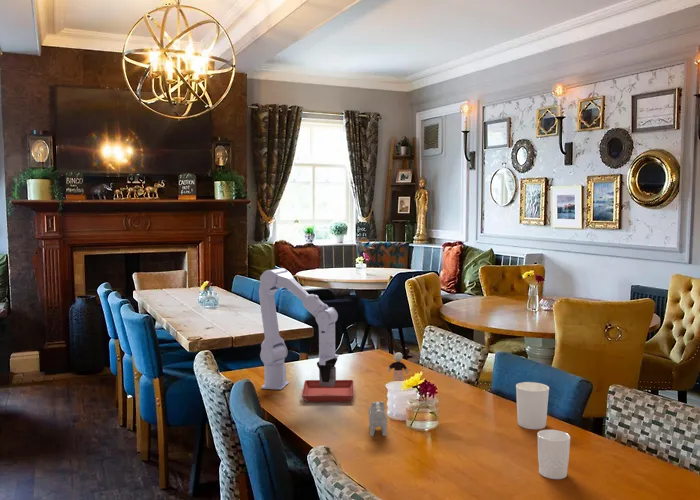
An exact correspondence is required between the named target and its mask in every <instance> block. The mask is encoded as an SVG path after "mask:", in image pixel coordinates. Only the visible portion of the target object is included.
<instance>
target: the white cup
mask: <svg viewBox="0 0 700 500" xmlns="http://www.w3.org/2000/svg"><path fill="white" fill-rule="evenodd" d="M536 434H537V435H536V436H537V458H538V459H537V462H538V473H539V474H540V475H541V476H542V477H544V478H547V479H550V480H562V479H565V478H566V477H567V476H568V475H567V474H568V467H569V460H570V447H571V446H570V445H571V436H570V435H569V433H567V432H565V431H561V430H558V429H541V430H539V431H538V432H537V433H536Z"/></svg>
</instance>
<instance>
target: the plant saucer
mask: <svg viewBox="0 0 700 500" xmlns="http://www.w3.org/2000/svg"><path fill="white" fill-rule="evenodd" d="M354 382H355V381H354V380H353V379H336V384H335V385H334V386H333V387H327V386H319V379H306V380H304V383H303V388H302V392H301V397H302V398H303V399H304V401H306V402H308V403H310V402H312V403H313V402H314V403H316V402H318V403H319V402H320V403H321V402H323V403H326V402H332V403H335V402H339V403H340V402H341V403H342V402H343V403H344V402H347V403H348V402H350V401H351V400H352V398H354V396H355V392H354V391H355V388H354V386H355V385H354V384H355V383H354Z"/></svg>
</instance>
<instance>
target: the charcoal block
mask: <svg viewBox="0 0 700 500" xmlns="http://www.w3.org/2000/svg"><path fill="white" fill-rule="evenodd" d="M336 368H337V367H336V366H335V367H332V368H331V372H330V379H329V382H323V381H322V377H321V373H320V370H319V369H318V372H319V373H318V377H319V379H318V380H319V386H327V387H333V386H334V385H335V384H336V380H337V369H336Z"/></svg>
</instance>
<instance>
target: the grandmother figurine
mask: <svg viewBox="0 0 700 500" xmlns="http://www.w3.org/2000/svg"><path fill="white" fill-rule="evenodd" d="M393 359H394V362H392V363H391V364H389V366H388V369H387V372H388V373H389V372H391V371H392V369H393V382H394V381H404V382H405V374H409V371H408V367H407V366H406V364H405V363H404V362H402V360H403V354H402V353H401V352H396V353H394V355H393ZM404 372H405V374H404Z"/></svg>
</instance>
